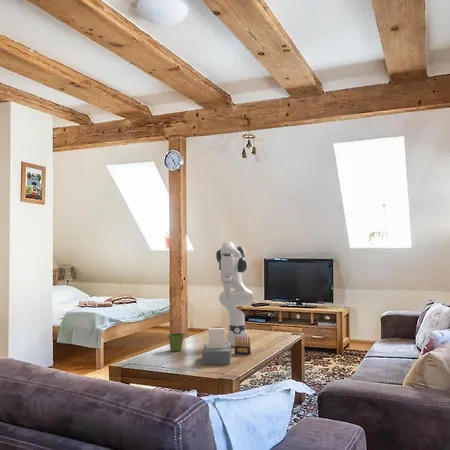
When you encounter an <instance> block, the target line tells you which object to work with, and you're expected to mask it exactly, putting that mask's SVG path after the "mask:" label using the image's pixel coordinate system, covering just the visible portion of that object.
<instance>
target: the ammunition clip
mask: <svg viewBox="0 0 450 450" xmlns="http://www.w3.org/2000/svg"><path fill="white" fill-rule="evenodd" d="M250 338H251V337H250V336H248V342H247V336H246V338H244V336H243V345H242V336H241V337H240V339H239V336H238V342H237V336H236V337H235V346H234V355H249V356H250V355H251V354H252V351H251V339H250ZM237 343H238V346H237Z"/></svg>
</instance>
